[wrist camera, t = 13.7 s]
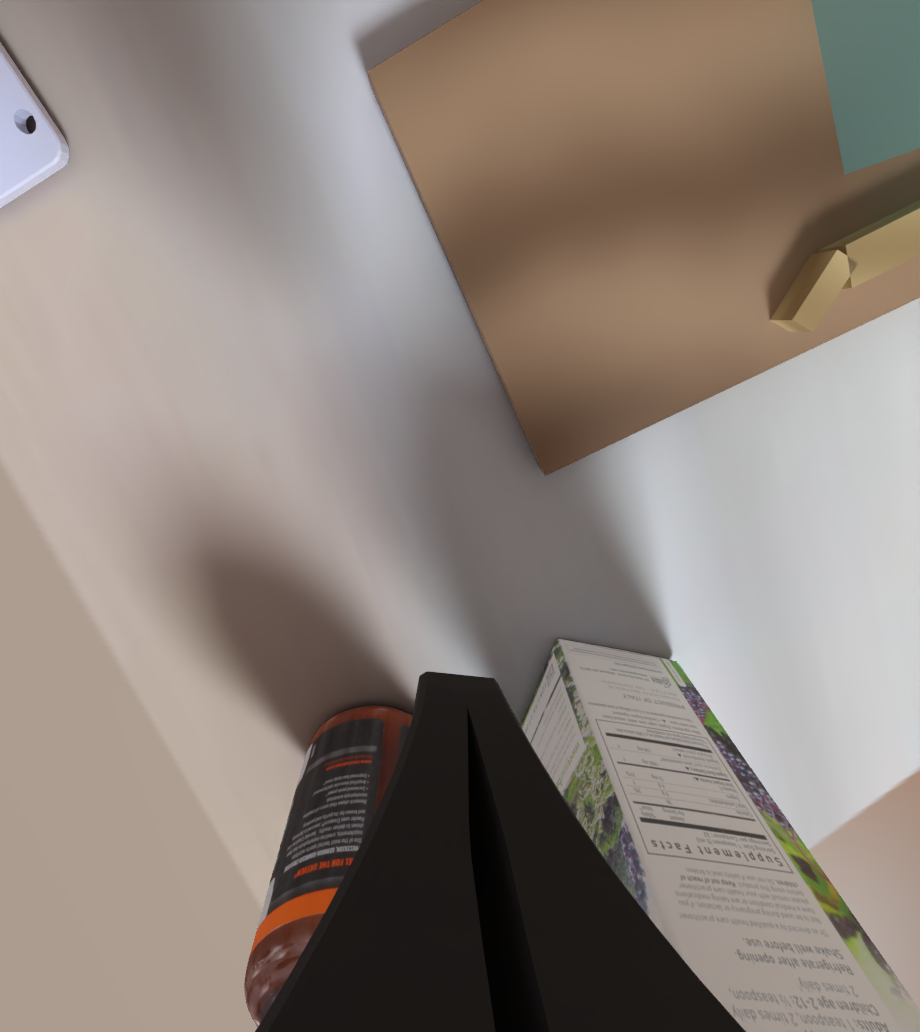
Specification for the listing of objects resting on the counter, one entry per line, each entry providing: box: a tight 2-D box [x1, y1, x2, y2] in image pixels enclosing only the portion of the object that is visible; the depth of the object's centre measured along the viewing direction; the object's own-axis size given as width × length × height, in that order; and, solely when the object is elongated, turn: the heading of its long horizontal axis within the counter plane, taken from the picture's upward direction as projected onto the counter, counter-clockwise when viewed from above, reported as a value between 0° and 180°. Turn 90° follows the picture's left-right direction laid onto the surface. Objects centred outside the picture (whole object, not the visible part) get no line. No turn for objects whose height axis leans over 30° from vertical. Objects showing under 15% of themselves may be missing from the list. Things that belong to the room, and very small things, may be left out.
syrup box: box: [521, 639, 920, 1032], centre depth 15 cm, size 6×6×14 cm
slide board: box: [368, 0, 920, 476], centre depth 12 cm, size 12×18×4 cm, turn 116°
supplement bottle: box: [244, 706, 413, 1027], centre depth 17 cm, size 6×6×11 cm
